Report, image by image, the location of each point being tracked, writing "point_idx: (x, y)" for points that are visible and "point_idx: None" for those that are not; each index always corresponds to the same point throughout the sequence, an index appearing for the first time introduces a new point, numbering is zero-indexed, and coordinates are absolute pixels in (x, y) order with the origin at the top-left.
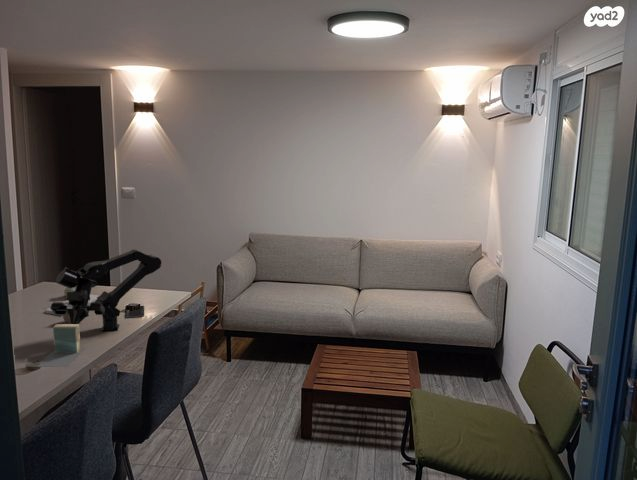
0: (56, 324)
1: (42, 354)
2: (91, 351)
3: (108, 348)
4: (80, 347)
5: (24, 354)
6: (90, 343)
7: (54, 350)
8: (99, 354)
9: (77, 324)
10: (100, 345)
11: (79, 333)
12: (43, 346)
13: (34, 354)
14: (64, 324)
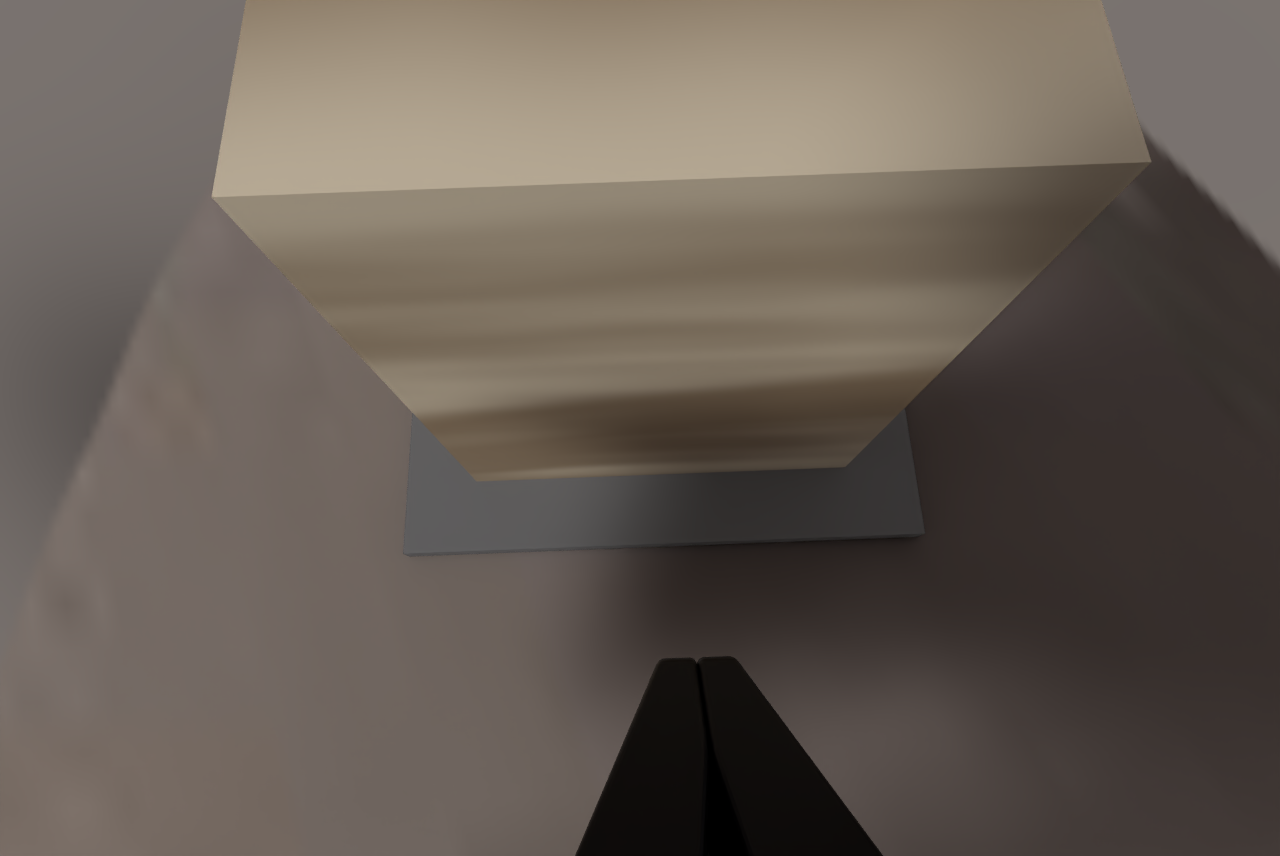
0: (1142, 140)
1: (1004, 331)
2: (296, 460)
3: (35, 594)
4: (467, 470)
5: (1273, 324)
6: (417, 844)
7: (892, 432)
8: (147, 352)
9: (271, 173)
10: (200, 738)
11: (368, 356)
12: (1223, 658)
13: (1124, 328)
14: (809, 149)
